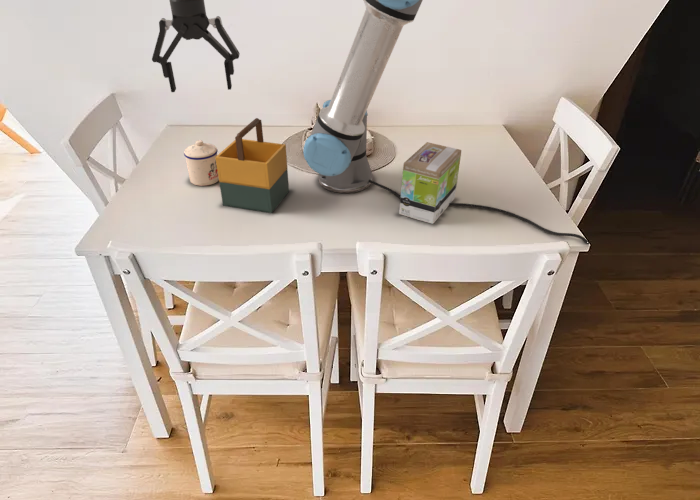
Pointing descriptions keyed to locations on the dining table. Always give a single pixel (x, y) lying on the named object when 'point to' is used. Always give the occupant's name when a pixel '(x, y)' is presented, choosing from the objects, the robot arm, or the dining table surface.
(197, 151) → the teacup with lid
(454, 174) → the tea box
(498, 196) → the dining table surface
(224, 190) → the green basket
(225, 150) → the ochre basket
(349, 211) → the dining table surface
